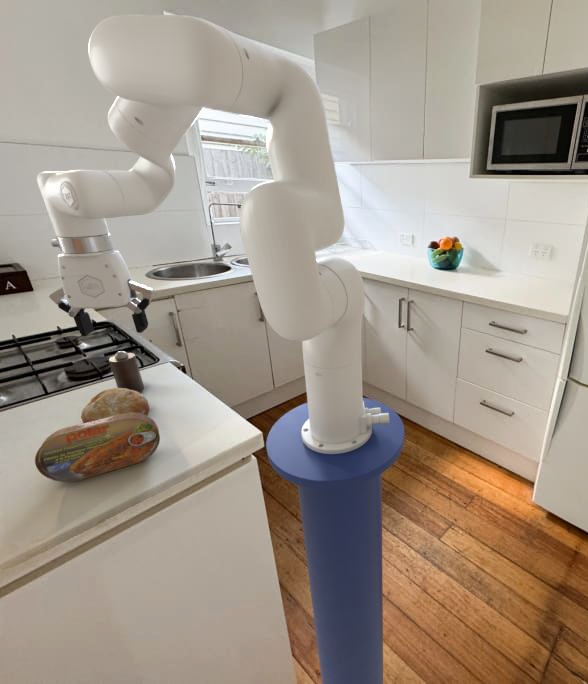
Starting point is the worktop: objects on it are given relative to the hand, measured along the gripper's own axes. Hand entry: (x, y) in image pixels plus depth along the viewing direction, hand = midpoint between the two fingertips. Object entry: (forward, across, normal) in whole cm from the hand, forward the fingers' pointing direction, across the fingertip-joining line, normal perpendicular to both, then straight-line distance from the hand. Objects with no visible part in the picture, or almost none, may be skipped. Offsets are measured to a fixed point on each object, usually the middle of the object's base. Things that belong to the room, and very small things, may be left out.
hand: (115, 332), depth 76 cm
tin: (+14, +6, -24) cm, 29 cm away
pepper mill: (+14, -1, 0) cm, 14 cm away
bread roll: (+14, +1, -11) cm, 18 cm away
